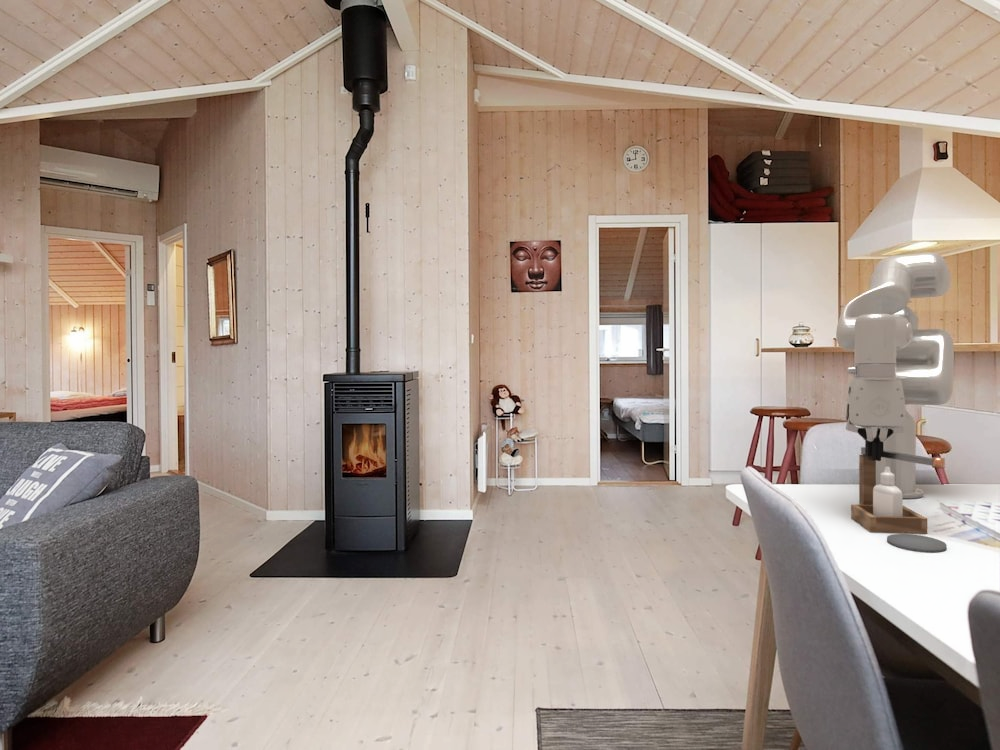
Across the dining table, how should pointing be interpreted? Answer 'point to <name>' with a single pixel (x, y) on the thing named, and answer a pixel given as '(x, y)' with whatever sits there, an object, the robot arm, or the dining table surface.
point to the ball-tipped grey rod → (912, 458)
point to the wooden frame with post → (881, 524)
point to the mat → (916, 543)
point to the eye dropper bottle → (887, 496)
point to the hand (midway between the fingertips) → (874, 459)
